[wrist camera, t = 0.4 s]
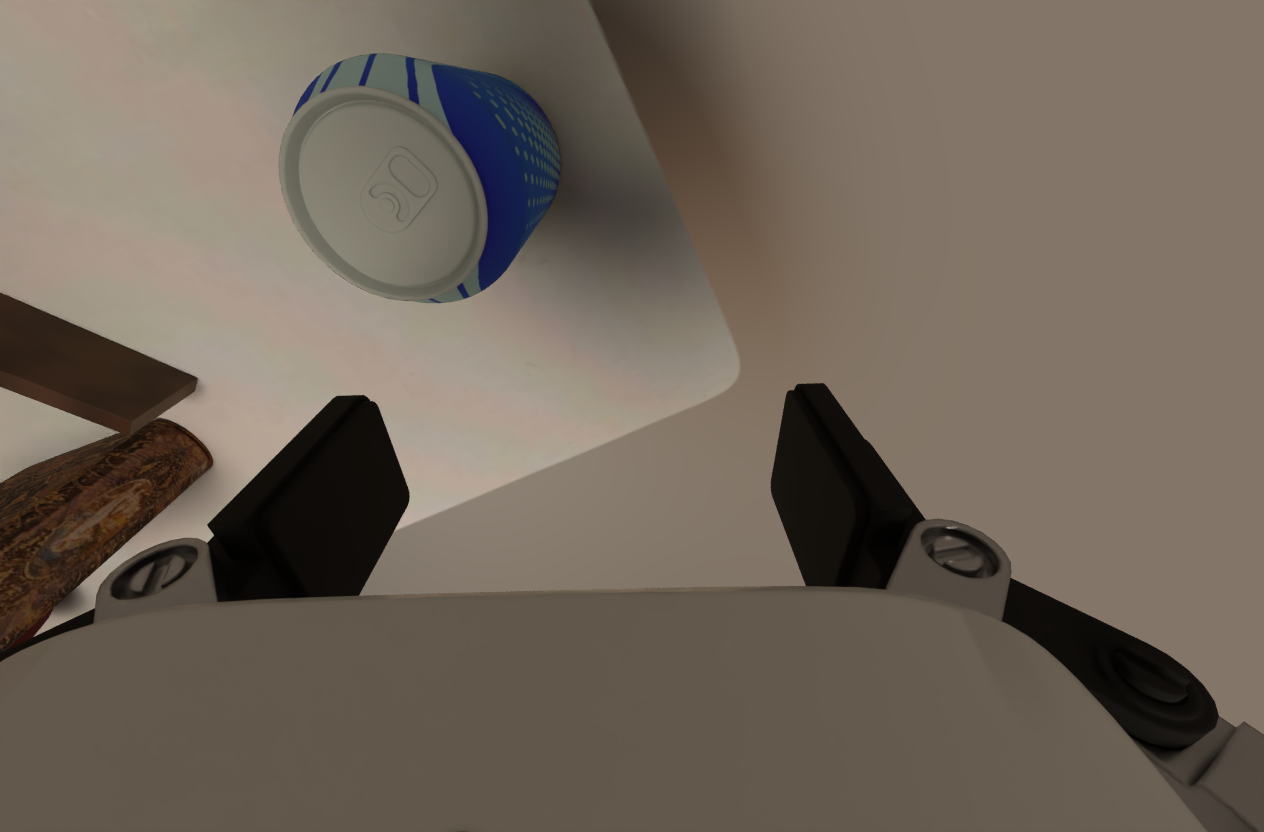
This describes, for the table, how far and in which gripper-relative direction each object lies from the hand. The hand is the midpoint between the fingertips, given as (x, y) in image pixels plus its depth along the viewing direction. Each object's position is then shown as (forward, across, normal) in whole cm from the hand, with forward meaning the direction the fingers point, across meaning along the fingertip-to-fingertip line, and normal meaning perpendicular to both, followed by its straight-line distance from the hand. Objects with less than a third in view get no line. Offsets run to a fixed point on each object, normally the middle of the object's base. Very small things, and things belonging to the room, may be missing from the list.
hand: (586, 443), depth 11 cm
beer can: (+24, +7, -4) cm, 26 cm away
